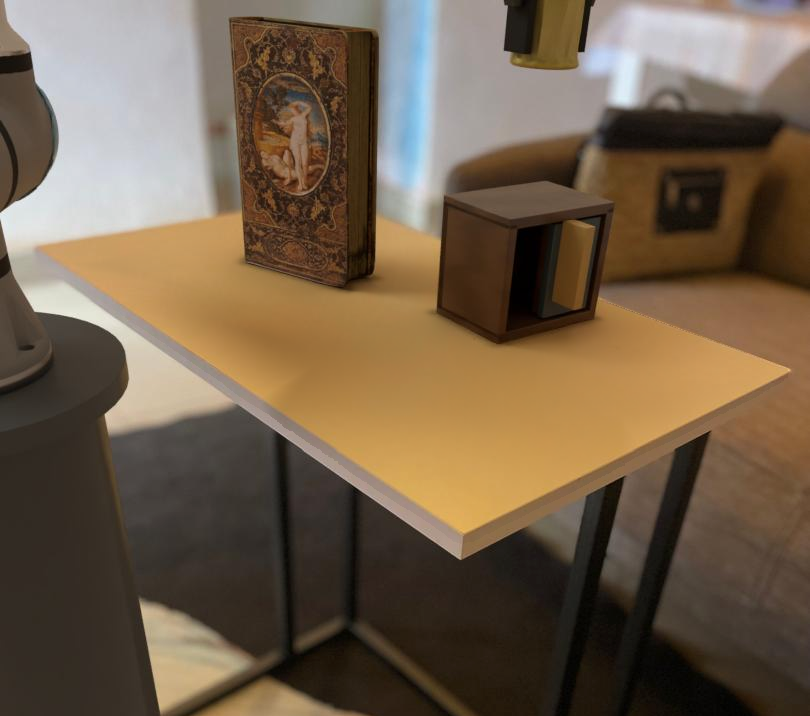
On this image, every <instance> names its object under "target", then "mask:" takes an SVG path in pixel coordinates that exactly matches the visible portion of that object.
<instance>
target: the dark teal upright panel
mask: <svg viewBox="0 0 810 716" xmlns="http://www.w3.org/2000/svg"><path fill="white" fill-rule="evenodd" d="M600 221H601V217H600V216H597V215H595V216H589V217H584V218H578V219H572V220H567V221H561V222H555V223H550V229H549V236H548V243H547V250H546V257H545V265H544V272H543V279H542V286H541V293H540V301H539V308H538V315H537V316H538V317H540V318H546V317H550V316H554V315H558V314H562V313H566V312H570V311H574V310H578V309H582V308H585V307H586V302H587V296H588V290H589V284H590V279H591V273H592V267H593V261H594V255H595V250H596V244H597V238H598V232H599V226H600Z"/></svg>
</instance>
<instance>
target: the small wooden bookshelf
mask: <svg viewBox="0 0 810 716" xmlns="http://www.w3.org/2000/svg"><path fill="white" fill-rule="evenodd" d="M615 206H616V201H613V200H610V199H606V198H603V197H600V196H596V195H593V194H590V193H587V192H583V191H581V190H578V189H574V188H571V187H568V186H564V185H561V184H558V183H554V182H551V181H549V180H541V181H534V182H528V183H521V184H513V185H506V186H505V185H504V186H498V187H491V188H484V189H477V190H470V191H462V192H456V193H449V194H443V202H442V220H441V234H440V249H439V251H440V252H439V263H438V264H439V267H438V281H437V295H436V296H437V297H436V311H435V312H436V313H437V314H439V315H441V316H443V317H445V318H447V319H449V320H451V321H453V322H454V323H457V324H458V325H460V326H462V327H464V328H467V330H470V331H471V332H473V333H476V334H478V335H479V336H482V337H484V338H486V339H487V340H489V341H491V342H493V343H495V344H501V343H505V342H509V341H513V340H516V339H520V338H523V337H527V336H528V337H529V336H532V335H535V334H539V333H542V332H546V331H550V330H554V329H558V328H563V327H565V326H569V325H573V324H578V323H581V322H584V321H588V320H592V319H595V317H596V311H597V305H598V301H599V300H598V299H599V294H600V288H601V284H602V283H601V282H602V279H603V272H604V267H605V261H606V257H607V256H606V255H607V249H608V245H609V240H610V239H609V238H610V234H611V229H612V228H611V227H612V222H613V216H614V211H615ZM595 215H597V216H600V217H601V221H600V226H599V232H598V238H597V244H596V250H595V255H594V261H593V267H592V273H591V279H590V284H589V290H588V296H587V302H586V307H585V308H582V309H578V310H574V311H570V312H566V313H562V314H558V315H554V316H550V317H546V318H540V317H538V316H537V315H538V308H539V301H540V293H541V286H542V279H543V272H544V265H545V257H546V250H547V243H548V236H549V229H550V223H555V222H561V221H567V220H572V219H578V218H584V217H589V216H595Z"/></svg>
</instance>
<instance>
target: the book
mask: <svg viewBox="0 0 810 716" xmlns="http://www.w3.org/2000/svg"><path fill="white" fill-rule="evenodd" d="M228 23H229V24H228V27H229V40H230V55H231V71H232V84H233V85H232V86H233V101H234V117H235V129H236V130H235V131H236V143H237V159H238V174H239V175H238V176H239V191H240V204H241V205H240V206H241V218H242V233H243V234H242V235H243V249H244V262H245V263H247V264H251V265H254V266H258V267H262V268H266V269H270V270H273V271H276V272H280V273H283V274H287V275H290V276H294V277H298V278H301V279H305V280H309V281H312V282H316V283H320V284H324V285H328V286H333V287H337V288H343V287H346V286H347V285H348V282H349V281H351V280H353V279H357V278H364V277H369V276H371V275H373V273H374V271H375V267H376V250H377V249H376V247H377V195H378V194H377V193H378V192H377V191H378V189H377V187H378V185H377V184H378V137H379V136H378V135H379V132H378V130H379V129H378V128H379V80H380V79H379V73H380V72H379V69H380V36H379V33H378V31H377V30H376V29H374V28H369V27H359V26H350V25H344V24H343V25H342V24H335V23H334V24H332V23H325V22H315V21H308V20H307V21H306V20H298V19H297V20H296V19H288V18H278V17H270V16H233V17H229V18H228Z"/></svg>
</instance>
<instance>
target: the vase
mask: <svg viewBox="0 0 810 716" xmlns="http://www.w3.org/2000/svg"><path fill="white" fill-rule="evenodd" d="M584 5H585V0H537V4H536V13H535V22H534V31H533V40H532V50H531V54H519V53H513V52H510V55H509V63H510V64H511V65H512V66H513V67H514V66H515V67H519V68H524V69H530V70H531V69H532V70H542V71H543V70H544V71H567V70H568V71H569V70H575V69H577V68H578V67H579V66H580V63H579V58H578V54H579V52H578V46H579V40H580V34H581V28H582V20H583V13H584Z"/></svg>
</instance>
